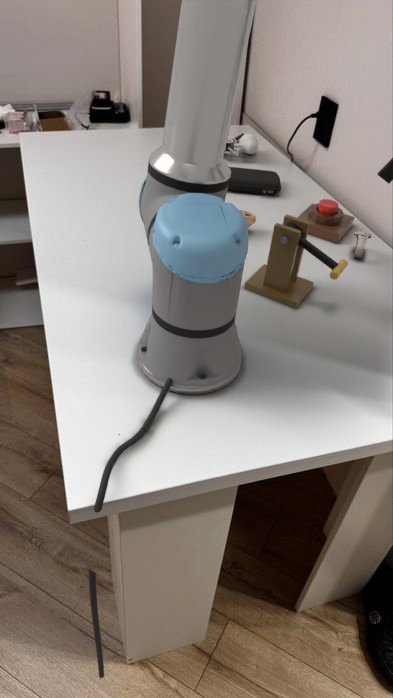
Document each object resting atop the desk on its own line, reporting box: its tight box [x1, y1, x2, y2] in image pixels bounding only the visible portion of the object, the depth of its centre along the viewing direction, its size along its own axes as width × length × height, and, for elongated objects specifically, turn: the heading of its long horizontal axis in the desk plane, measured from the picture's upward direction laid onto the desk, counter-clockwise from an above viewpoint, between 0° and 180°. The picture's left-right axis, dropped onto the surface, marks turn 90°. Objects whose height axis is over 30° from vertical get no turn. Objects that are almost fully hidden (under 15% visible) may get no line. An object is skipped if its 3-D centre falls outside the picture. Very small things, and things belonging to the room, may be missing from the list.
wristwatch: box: [352, 230, 373, 260], centre depth 106 cm, size 4×6×5 cm, turn 162°
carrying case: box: [227, 166, 282, 196], centre depth 127 cm, size 11×3×15 cm
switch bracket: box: [244, 214, 315, 309], centre depth 91 cm, size 10×8×13 cm
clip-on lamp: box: [224, 132, 259, 157], centre depth 144 cm, size 12×6×18 cm
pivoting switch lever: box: [285, 221, 349, 281], centre depth 88 cm, size 12×5×2 cm, turn 59°
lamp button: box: [318, 198, 339, 216], centre depth 112 cm, size 4×4×2 cm
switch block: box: [297, 203, 355, 244], centre depth 114 cm, size 10×10×4 cm
